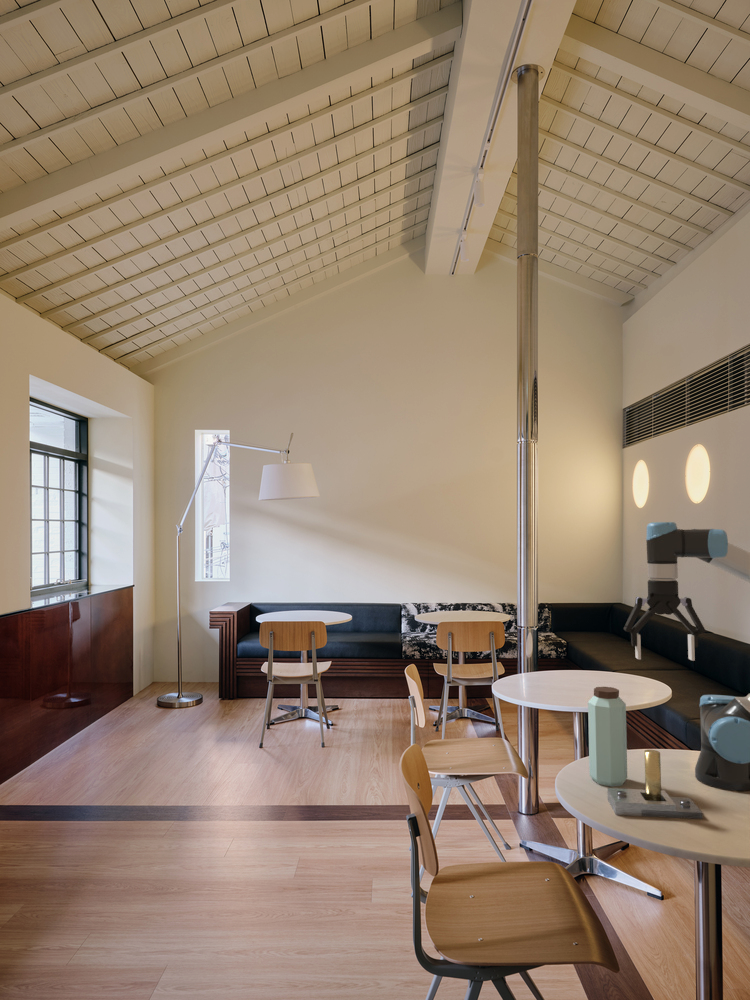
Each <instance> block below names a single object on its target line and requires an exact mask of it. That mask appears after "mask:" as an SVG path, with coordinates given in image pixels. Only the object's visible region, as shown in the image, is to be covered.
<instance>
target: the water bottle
mask: <svg viewBox="0 0 750 1000" xmlns="http://www.w3.org/2000/svg"><path fill="white" fill-rule="evenodd" d="M587 711H588V712H587V714H588V720H587V721H588V760H589V761H588V763H589V766H588V767H589V768H588V769H589V771H588V772H589V777H590V778H591V780H593V782H595V783H596V784H598V785H602V786H606V787H621V786H623V784H624V783H625V782H626V780H627V778H628V746H627V744H628V741H627V736H628V735H627V704H626V702H625V701H624V700H623V699H622V698H621V697H620V689H618V688H616V687H611V686H596V687H595V688H593V696H592V697H591V698H590V699H589V700H588V701H587Z"/></svg>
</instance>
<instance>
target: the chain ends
mask: <svg viewBox="0 0 750 1000" xmlns="http://www.w3.org/2000/svg"><path fill="white" fill-rule="evenodd" d="M607 801H608V802H609V805H610V807H611V809H612V810H613V812H614V814H615V815H616V816H633V817H634V816H635V817H651V818H670V819H672V818H673V819H689V820H690V819H694V820H703V812H702V810H701V809H700V808H699V807H698V806H697V804H695V802H694V801H693V799H691V797H684V796H683V797H681V796H680V797H679V796H678V797H677V796H670V795H669V794H668V793H667V792H666V790H663V789H661V801H647V800H646V789H641V788H640V789H638V788H615V787H607Z"/></svg>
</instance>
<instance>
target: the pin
mask: <svg viewBox="0 0 750 1000" xmlns="http://www.w3.org/2000/svg"><path fill="white" fill-rule="evenodd" d="M661 764H662V763H661V751H659V750H657V749H645V750H644V781H645V783H644V784H645V785H644V787H645V789H644V790H646V800H647V801H661V790H662V772H661V768H662V767H661Z"/></svg>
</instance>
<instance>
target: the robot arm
mask: <svg viewBox="0 0 750 1000" xmlns="http://www.w3.org/2000/svg"><path fill="white" fill-rule="evenodd" d="M677 526H678V525H677V523H676V522H674V521H672V522H671V521H669V522H668V521H667V522H666V521H664V522H663V521H662V522H661V521H660V522H659V521H658V522H657V521H656V522H654V521H653V522H649V523H648V524H647V525H646V538H645V539H646V559H647V560H646V561H647V562H646V563H647V565H646V566H647V568H646V569H647V579H648V581H647V597H646V598H644V597H640V596H636V597H635V601H634V602H635V603H634V606H633V608H632V610H631V611H630V614H629V616H628V618H627V621H626V623H624V624H625V625H624V627H623V630H624V631H625V632H627V633H630V639H631V640H630V643H631V646H632V647H634V648H635V650H634V652H635V653H634V654H635V656H634V657H635V658H636V659H637V660H642V649H641V648H642V646H641V644H642V643H641V634H640V633H639V632H640V631H641V630H642V628H644V626H645V625H646V624H647V623H648V622H649V620H651V618H652V617H653V616H655V615H658V616H659V615H668V616H670V615H672V614H673V615H674V617H676V618H677V619H678V621H680V623H681V624H682V625H683V626H684V627H685V628H686V629H687V631H689V632H690V633H689V634H688V633H687V650H688V651H687V655H688V657H687V659H688V660H690V661H693V662H694V661H696V660H695V659H696V658H695V657H696V656H695V651H696V650H695V648H698V647H699V636H700V634H704V633H706V628H705V627H704V624H703V623H702V621H701V620H700V617H699V616H698V614H697V611H695V610H696V609H694V606H693V603H692V598H690V597H687V596H686V597H684V598H683V597H681V598H680V597H679V581H678V580H676V579H678V578H679V572H678V570H679V569H678V566H679V565H678V558H697V559H699V560H700V561H702V562H705V563H707V564H709V565H711V566H714V567H716V568H718V569H721V570H722V571H724V572H726V573H727V574H730V575H732V576H735V577H736V578H739V579H741V580H743V581H745V582H747V583H749V584H750V552H749V551H748V550H747V551H746V550H745V549H743V548H740V547H738V546H736V545H733V544H731V543H730V542H729V540H728V535H727V534H728V533H727V532H726V531H725V530H724V529H718V528H717V529H716V528H706V529H705V528H702V529H701V528H699V529H698V528H691V529H680V528H678V527H677ZM645 604H647V606H648V609H646V611H645V613H644V614H643V615H642V616H641V617H640V619H639V620H638V621H637V620H636V619H637V618H638V616H639V614H640V612H641V610H642V607H643V606H645ZM680 604H681V605H682V606H683V607H685V609H686V612H687V613H688V615H689V617H690V619H691V620H692V623H693V625H692V623H691V622H690V621H689V620H688V619H687V618H686V617H685V616H684V615H683V613H682V612H681V610H679V609H678V607H679V606H680ZM635 621H637V622H636V623H635ZM694 626H695V627H694ZM698 706H699V709H700V710H699V711H700V713H699V714H700V740H701V741H700V743H701V747H700V752H699V755H698V758H697V761H696V763H695V768H694V773H695V774H694V775H695V776H694V777H695V778H696V780H697V781H699V782H701V783H703V784H705V785H707V786H709V787H713V788H716V789H717V788H718V789H720V790H729V791H734V792H735V791H736V792H737V791H740V792H741V791H750V693H748V694H747V695H746V696H734V695H722V694H703V695H702V696H701V697H700V698H699V705H698Z"/></svg>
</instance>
